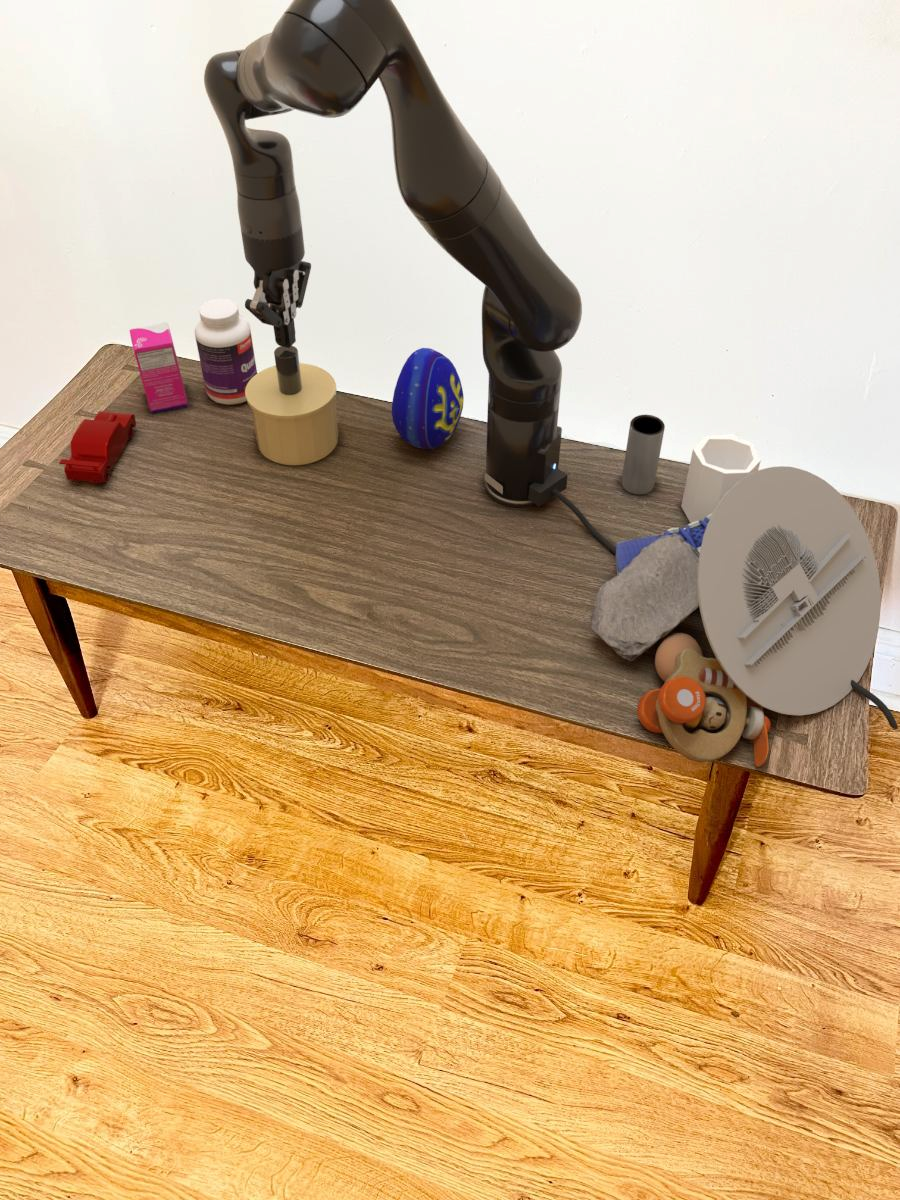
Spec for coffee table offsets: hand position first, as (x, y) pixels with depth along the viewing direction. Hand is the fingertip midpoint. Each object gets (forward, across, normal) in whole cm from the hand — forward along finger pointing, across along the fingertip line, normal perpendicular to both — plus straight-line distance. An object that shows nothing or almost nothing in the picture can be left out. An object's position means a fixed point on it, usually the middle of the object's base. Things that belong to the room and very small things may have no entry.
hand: (286, 343), depth 144 cm
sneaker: (+16, -3, -63) cm, 65 cm away
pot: (+16, 0, 0) cm, 16 cm away
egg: (+13, -23, -64) cm, 69 cm away
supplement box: (+16, 0, +23) cm, 28 cm away
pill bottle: (+16, +6, +15) cm, 23 cm away
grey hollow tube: (+16, +11, -48) cm, 52 cm away
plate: (+6, -11, -72) cm, 73 cm away
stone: (+9, -13, -53) cm, 55 cm away
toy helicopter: (+9, -22, -63) cm, 67 cm away
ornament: (+16, +8, -17) cm, 25 cm away
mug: (+16, +12, -59) cm, 62 cm away
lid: (+7, -1, 0) cm, 7 cm away
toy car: (+16, -16, +23) cm, 32 cm away
